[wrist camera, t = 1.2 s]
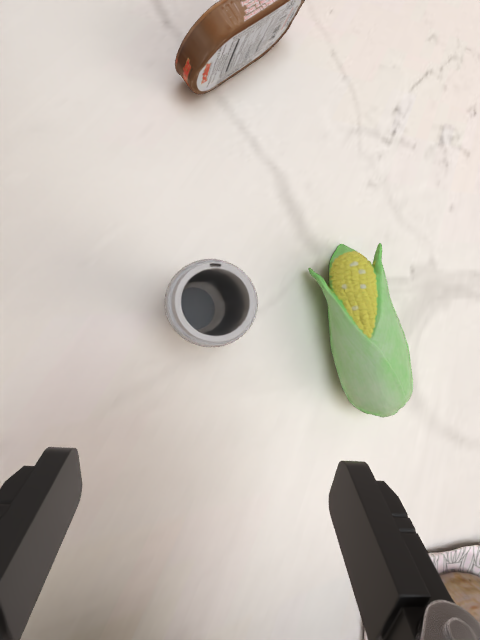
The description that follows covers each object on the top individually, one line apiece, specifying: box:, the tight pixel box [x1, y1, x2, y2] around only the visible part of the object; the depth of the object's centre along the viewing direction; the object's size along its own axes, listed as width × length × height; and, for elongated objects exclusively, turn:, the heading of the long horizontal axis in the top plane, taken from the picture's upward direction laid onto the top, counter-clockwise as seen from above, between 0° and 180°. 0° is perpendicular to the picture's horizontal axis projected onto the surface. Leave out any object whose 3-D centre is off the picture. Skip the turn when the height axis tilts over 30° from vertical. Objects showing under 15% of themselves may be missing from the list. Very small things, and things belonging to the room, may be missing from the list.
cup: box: [165, 259, 258, 347], centre depth 30 cm, size 7×7×12 cm
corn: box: [308, 243, 413, 417], centre depth 37 cm, size 8×8×20 cm
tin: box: [175, 0, 305, 94], centre depth 33 cm, size 15×3×8 cm, turn 131°
